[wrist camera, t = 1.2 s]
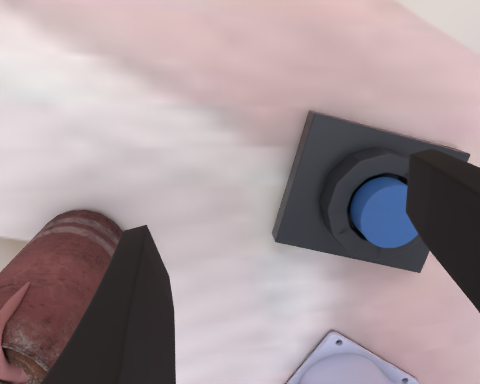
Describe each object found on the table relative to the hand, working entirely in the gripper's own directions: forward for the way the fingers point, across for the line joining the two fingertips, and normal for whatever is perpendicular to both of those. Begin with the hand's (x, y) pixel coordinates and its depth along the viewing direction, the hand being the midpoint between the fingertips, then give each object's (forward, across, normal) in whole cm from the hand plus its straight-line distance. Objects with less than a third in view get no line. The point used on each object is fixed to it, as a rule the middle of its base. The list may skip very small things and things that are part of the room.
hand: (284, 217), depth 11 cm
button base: (+14, -8, +12) cm, 20 cm away
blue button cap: (+11, -8, +11) cm, 17 cm away
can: (+15, +12, +11) cm, 22 cm away
